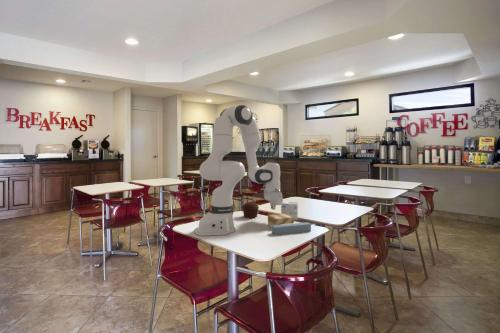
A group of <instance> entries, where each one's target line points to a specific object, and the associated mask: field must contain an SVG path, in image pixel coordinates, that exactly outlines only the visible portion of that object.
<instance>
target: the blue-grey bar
mask: <svg viewBox="0 0 500 333" xmlns="http://www.w3.org/2000/svg"><path fill="white" fill-rule="evenodd" d="M311 229H312V224H311V223H310V222H307V221H306V222H294V223H292V224H281V225H274V226H272V227H271V234H273V235H274V236H277V235H278V236H279V235H289V234H296V233H305V232H312V230H311Z"/></svg>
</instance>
